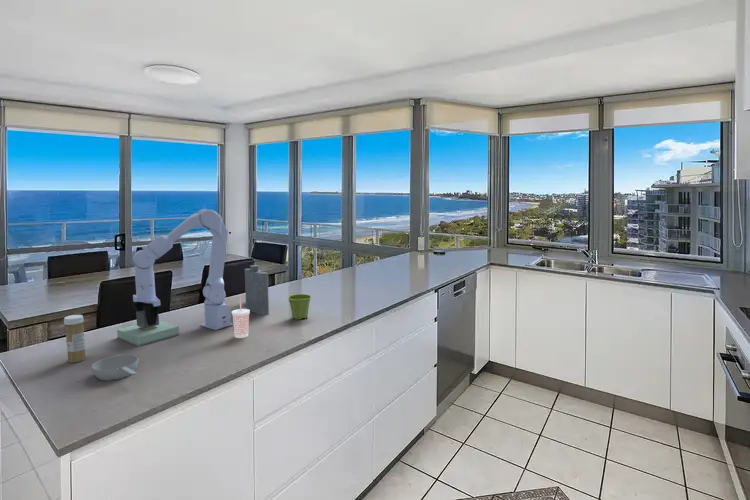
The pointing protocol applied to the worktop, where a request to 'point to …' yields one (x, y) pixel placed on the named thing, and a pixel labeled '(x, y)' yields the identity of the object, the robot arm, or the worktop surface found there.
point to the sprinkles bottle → (75, 338)
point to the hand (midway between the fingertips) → (147, 323)
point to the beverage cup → (241, 322)
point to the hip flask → (256, 290)
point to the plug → (145, 321)
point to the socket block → (147, 333)
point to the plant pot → (299, 305)
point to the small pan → (115, 367)
